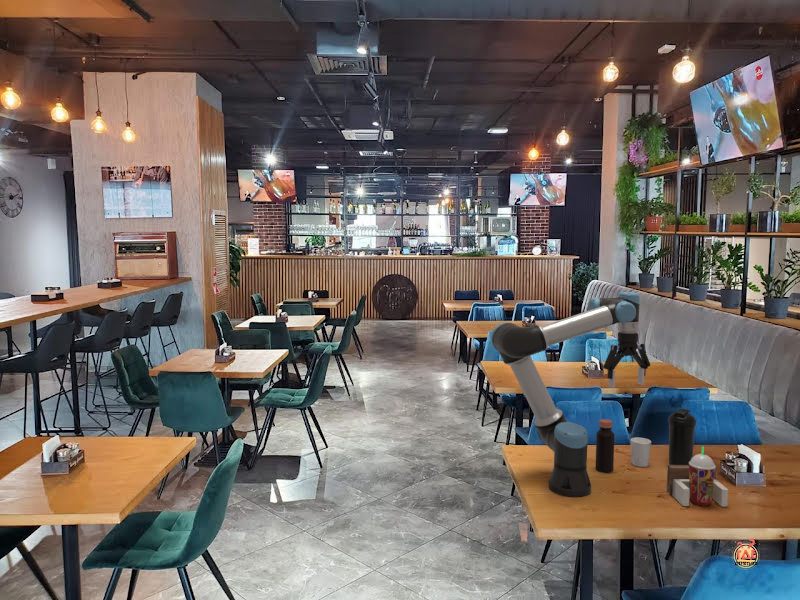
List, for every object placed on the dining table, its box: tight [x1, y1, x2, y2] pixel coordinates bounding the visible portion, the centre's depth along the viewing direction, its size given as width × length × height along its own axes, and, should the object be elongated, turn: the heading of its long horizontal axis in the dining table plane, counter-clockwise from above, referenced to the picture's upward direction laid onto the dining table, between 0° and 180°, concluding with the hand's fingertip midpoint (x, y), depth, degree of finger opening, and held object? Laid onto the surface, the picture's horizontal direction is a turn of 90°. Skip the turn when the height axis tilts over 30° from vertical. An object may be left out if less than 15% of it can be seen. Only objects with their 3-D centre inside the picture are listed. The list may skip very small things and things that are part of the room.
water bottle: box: [667, 408, 697, 465], centre depth 246 cm, size 10×10×23 cm
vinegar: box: [595, 418, 615, 474], centre depth 242 cm, size 7×7×20 cm
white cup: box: [630, 437, 652, 468], centre depth 249 cm, size 8×8×10 cm
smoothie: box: [689, 446, 717, 507], centre depth 212 cm, size 8×8×20 cm
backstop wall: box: [666, 464, 717, 496], centre depth 220 cm, size 3×16×10 cm, turn 88°
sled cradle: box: [671, 479, 729, 508], centre depth 213 cm, size 9×15×6 cm, turn 88°
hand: (626, 385), depth 238 cm, fingers open, 13 cm apart
